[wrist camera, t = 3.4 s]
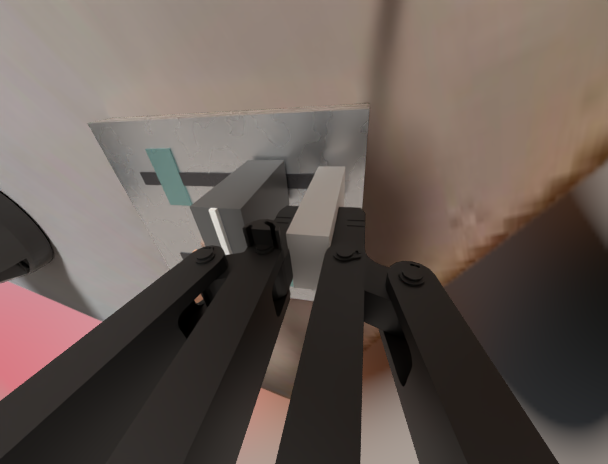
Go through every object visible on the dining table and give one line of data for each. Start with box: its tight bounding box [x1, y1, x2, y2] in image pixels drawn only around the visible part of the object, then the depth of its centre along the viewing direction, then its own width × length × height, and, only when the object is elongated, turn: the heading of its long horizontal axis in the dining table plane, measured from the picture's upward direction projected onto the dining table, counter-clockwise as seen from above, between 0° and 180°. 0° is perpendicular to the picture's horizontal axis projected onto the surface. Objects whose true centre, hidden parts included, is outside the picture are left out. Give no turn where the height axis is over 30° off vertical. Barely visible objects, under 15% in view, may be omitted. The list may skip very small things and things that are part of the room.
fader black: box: [190, 160, 290, 255], centre depth 13 cm, size 2×3×6 cm
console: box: [88, 103, 370, 301], centre depth 19 cm, size 19×16×2 cm
